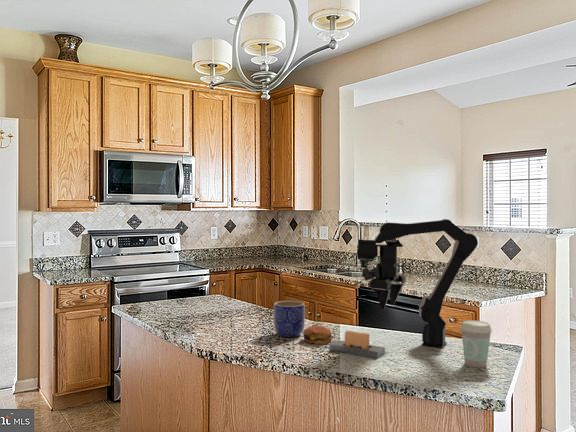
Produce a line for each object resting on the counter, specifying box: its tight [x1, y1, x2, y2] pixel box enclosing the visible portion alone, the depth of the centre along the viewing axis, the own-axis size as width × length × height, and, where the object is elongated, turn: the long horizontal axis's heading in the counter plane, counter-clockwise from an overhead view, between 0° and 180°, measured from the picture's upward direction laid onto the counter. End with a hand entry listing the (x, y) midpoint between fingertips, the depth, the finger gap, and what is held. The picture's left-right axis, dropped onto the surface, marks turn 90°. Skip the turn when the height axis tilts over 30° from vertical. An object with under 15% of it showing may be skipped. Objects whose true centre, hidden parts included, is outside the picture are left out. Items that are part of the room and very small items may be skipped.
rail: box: [329, 339, 386, 359], centre depth 159 cm, size 16×6×2 cm, turn 58°
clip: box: [344, 330, 370, 349], centre depth 159 cm, size 7×2×6 cm, turn 58°
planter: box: [273, 300, 306, 338], centre depth 180 cm, size 11×11×11 cm
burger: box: [302, 325, 333, 346], centre depth 173 cm, size 10×9×5 cm
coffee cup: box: [459, 319, 493, 368], centre depth 147 cm, size 9×9×12 cm
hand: (387, 306), depth 171 cm, fingers open, 9 cm apart
